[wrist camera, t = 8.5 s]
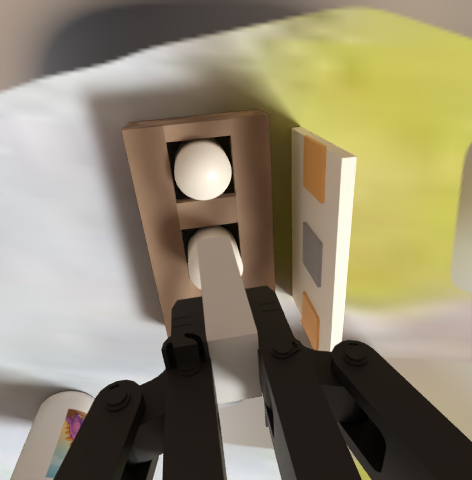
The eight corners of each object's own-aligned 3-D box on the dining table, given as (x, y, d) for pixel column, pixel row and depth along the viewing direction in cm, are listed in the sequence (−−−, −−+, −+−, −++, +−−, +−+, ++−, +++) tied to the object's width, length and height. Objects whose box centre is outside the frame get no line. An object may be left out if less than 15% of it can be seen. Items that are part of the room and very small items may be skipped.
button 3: (179, 187, 34) (179, 203, 30) (171, 137, 32) (169, 147, 28) (228, 181, 35) (233, 196, 31) (223, 131, 32) (229, 141, 29)
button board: (172, 328, 42) (171, 352, 39) (128, 122, 31) (121, 130, 28) (269, 313, 43) (276, 335, 40) (259, 109, 32) (269, 114, 29)
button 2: (191, 271, 35) (192, 296, 32) (184, 228, 33) (184, 250, 29) (238, 264, 36) (244, 288, 32) (234, 222, 34) (240, 242, 30)
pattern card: (290, 298, 43) (325, 375, 32) (288, 126, 33) (337, 155, 23) (300, 296, 43) (339, 373, 32) (301, 124, 34) (356, 153, 23)
